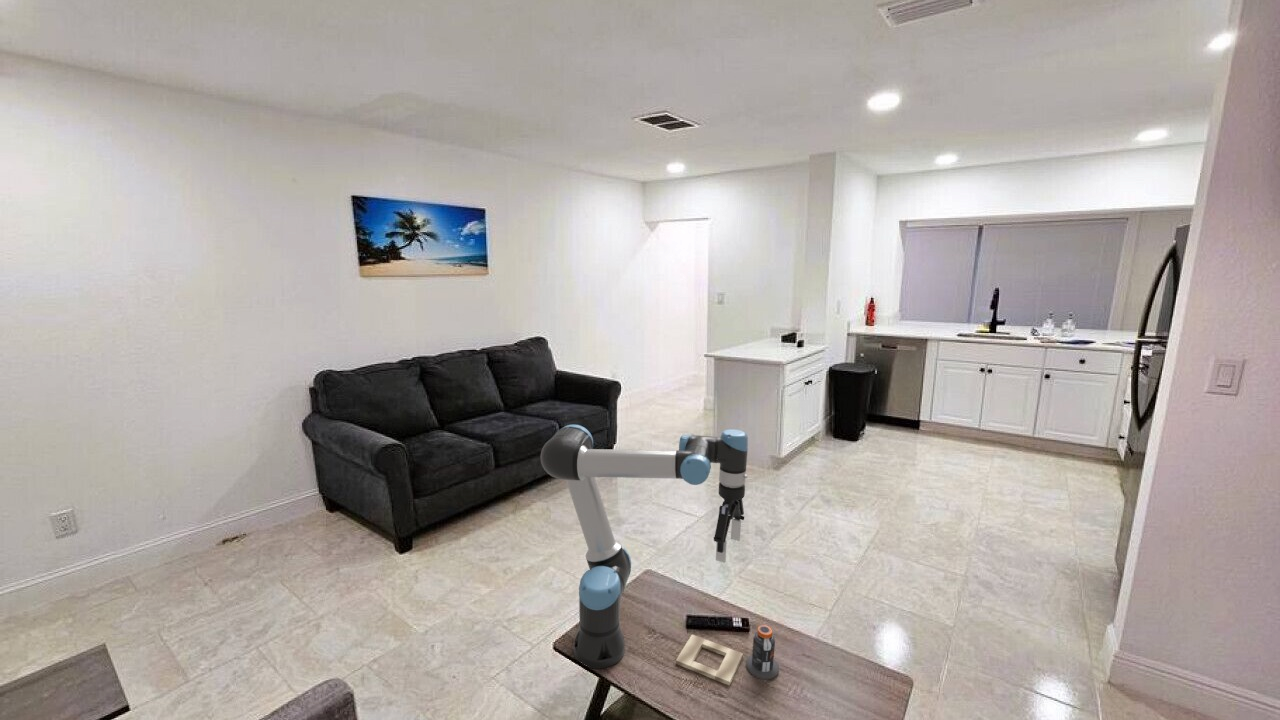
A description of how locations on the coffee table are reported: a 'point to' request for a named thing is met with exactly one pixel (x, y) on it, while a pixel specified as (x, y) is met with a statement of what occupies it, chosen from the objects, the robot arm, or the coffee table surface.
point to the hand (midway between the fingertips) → (728, 549)
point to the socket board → (721, 675)
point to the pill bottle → (763, 649)
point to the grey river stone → (762, 675)
